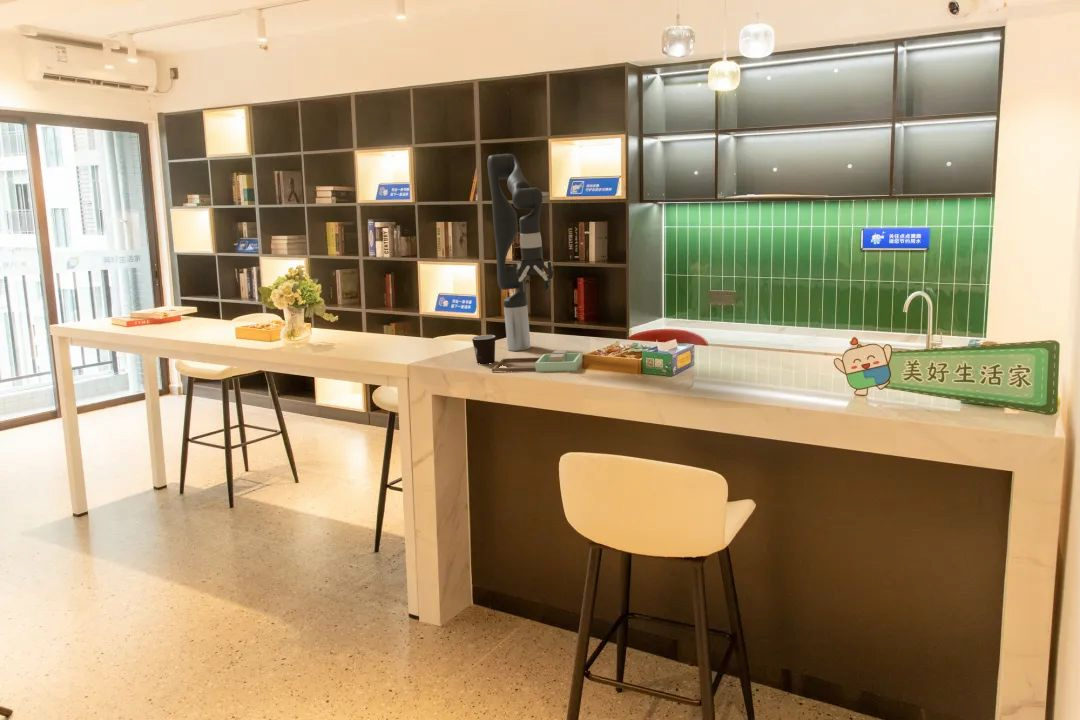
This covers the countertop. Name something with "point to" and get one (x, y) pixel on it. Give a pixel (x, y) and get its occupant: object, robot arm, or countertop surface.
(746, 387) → the countertop surface
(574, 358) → the green dish
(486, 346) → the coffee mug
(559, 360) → the light grey cube
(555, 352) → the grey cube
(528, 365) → the walnut tray
